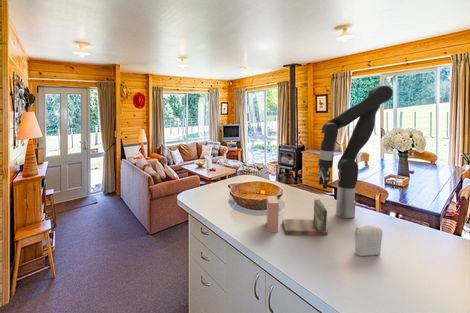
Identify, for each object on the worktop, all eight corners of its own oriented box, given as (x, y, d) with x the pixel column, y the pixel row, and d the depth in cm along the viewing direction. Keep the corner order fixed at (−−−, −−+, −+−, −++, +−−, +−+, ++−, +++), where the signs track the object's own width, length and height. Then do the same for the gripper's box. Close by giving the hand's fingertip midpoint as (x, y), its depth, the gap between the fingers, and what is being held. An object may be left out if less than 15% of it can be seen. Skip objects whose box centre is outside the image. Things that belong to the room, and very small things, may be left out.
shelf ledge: (319, 223, 140) (321, 198, 137) (327, 235, 126) (329, 207, 124) (282, 222, 141) (283, 197, 139) (285, 234, 127) (286, 206, 125)
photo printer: (375, 250, 112) (377, 222, 110) (382, 255, 108) (384, 227, 106) (353, 251, 111) (355, 224, 109) (359, 257, 107) (361, 228, 105)
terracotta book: (275, 222, 141) (276, 196, 138) (278, 231, 130) (278, 203, 127) (266, 222, 141) (267, 196, 139) (267, 231, 130) (268, 202, 128)
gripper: (337, 161, 139) (333, 190, 141) (329, 157, 153) (325, 183, 155) (322, 160, 139) (319, 189, 142) (316, 156, 153) (313, 182, 156)
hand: (322, 186), depth 148 cm, fingers open, 8 cm apart
